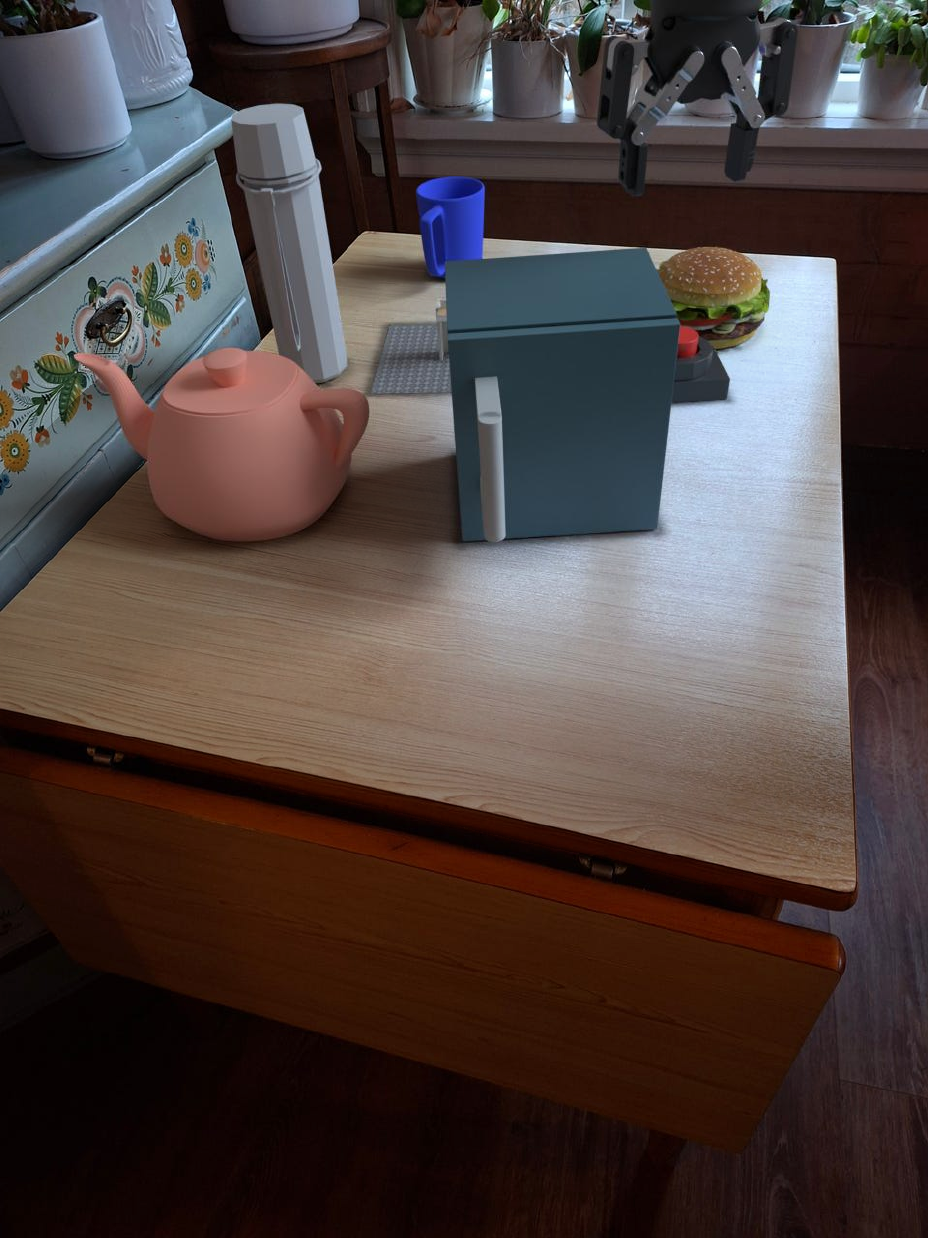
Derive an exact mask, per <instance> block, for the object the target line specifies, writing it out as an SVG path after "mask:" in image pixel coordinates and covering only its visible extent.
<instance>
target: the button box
mask: <svg viewBox="0 0 928 1238" xmlns="http://www.w3.org/2000/svg"><path fill="white" fill-rule="evenodd" d="M730 382H731V378H730V376H729V374H728V372H727V370H726V369H725V366H724V364H723V362H722V360H721V358H720V356H719V354H718V352H717V350H716V349H715V348H714V346H713V345H712V346H711V344H710V342H709V341H707V340H705V339H703V338H701V337H700V336H698V344H697V351H696V354H695V355H693V356H691V357H688V358H677V359H676V368H675V376H674V385H673V394H672V403H671V404H676V403H690V402H692V403H693V402H704V401H719V400H721V401H722V400H727V399H728V394H729V388H730Z"/></svg>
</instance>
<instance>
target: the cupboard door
mask: <svg viewBox="0 0 928 1238" xmlns="http://www.w3.org/2000/svg"><path fill="white" fill-rule="evenodd" d="M679 332H680V323H679V321H678V318H673V319H658V320H643V321H629V322H614V323H599V324H585V325H570V326H555V327H541V328H526V329H511V330H496V331H482V332H467V333H452V334H448V350H449V364H450V378H451V391H452V392H451V403H452V404H451V405H452V415H453V416H452V418H453V432H454V444H455V457H456V458H455V459H456V471H457V485H458V497H459V511H460V525H461V526H460V527H461V539H462V542H474V541H487V542H490V543H498V542H501V541H503V540H505V539H507V540H508V539H521V538H535V537H536V538H537V537H551V536H568V535H583V534H584V535H585V534H598V533H600V534H601V533H613V532H630V531H647V530H657V529H658V526H659V525H658V524H659V516H660V510H661V509H660V507H661V499H662V491H663V483H664V482H663V481H664V473H665V464H666V463H665V462H666V456H667V455H666V454H667V448H668V447H667V446H668V438H669V430H670V429H669V428H670V420H671V411H672V404H673V403H672V394H673V385H674V376H675V368H676V359H677V350H678V341H679Z"/></svg>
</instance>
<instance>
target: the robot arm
mask: <svg viewBox="0 0 928 1238" xmlns="http://www.w3.org/2000/svg"><path fill="white" fill-rule="evenodd" d="M763 2H764V0H650V23H649V27H648V30H647V32H646V34H645V37H644V38H641V39H640V38H639V39H638V38H637V39H623V38H622V37H619V36H617V35H611V36H609V37H608V38H607V39H606V41H605V42H604V47H603V57H602V65H601V66H602V67H601V78H600V87H599V97H598V107H597V115H596V117H597V118H596V126H597V127H598V129H600V130H601V131H602V132H604V133H605V134H606V135H608V136H609V137H610V138H612V139H614V140H619V141H620V147H619V148H620V149H619V160H618V161H619V164H618V177H617V178H618V181H619V184H620V185H621V186H622V187H623V188H624V191H625V192H626V193H627V194H628V195H629V196H631V197H632V198H636V197H642V196H644V194H645V186H646V185H645V184H646V175H647V163H648V151H649V144H648V143H646V140H647V139H648V138H649V136H650V135H651V133H652V132H653V130H654V129H655V127H656V125H657V124H658V122H660V121H661V120H662V119H664V118H665V117H667V115H668V114H669V113H670V111H671V110H672V109H673V107H674V105H675V104H676V103H678V104H681V105H685V104H692V103H695V102H696V101H699V100H701V99H704V100H709V101H714V100H720V99H722V97H723V98H724V100H725V101H726V103H727V105H728V106H729V108H730V111H731V112H732V114H733V116H734V118H735V119H736V120H735V122H731V123H730V127H729V134H728V142H727V148H726V154H725V163H724V170H723V171H724V175H725V177H726V178H728V179H730V180H731V181H733V182H734V183H735V182H742V181H745V180H746V177H747V173H750V172H751V170H752V167H753V165H754V162H755V156H756V148H757V142H758V137H759V132H760V128H761V126H762V125H763V124H764V122H765V121H767V120H769V119H771V118H773V117H775V116H776V117H781V116H783V115H785V114H786V112H787V111H788V108H789V103H790V96H791V88H792V80H793V72H794V66H795V58H796V51H797V44H798V43H797V42H798V34H799V26H798V25H797V24H796V23H795V22H792V21H790V20H788V19H786V18H784V17H779V16H772V17H770V18H769V19H768V20H767V21H766V22H765V23H760V24H759V20H758V19H759V17H758V15H759V10H760V8H761V6H762V5H763ZM757 49H758V52H759V54H760V55H761V64H760V72H759V81H758V91H756V88H755V86H754V84H753V83H752V81H751V78H750V76H749V75H748V73H747V71H746V68H745V67H746V65H747V63H748V62H749V60H750V59H751V57H752V56H753V55H754V53H755V52H756V50H757ZM643 60H644V61H645V63H646V65H647V67H648V68H649V70H650V71H649V73H648V74H647V76H646V77H645V79H644V80H643V82H642V83H641V85H640V87H638V90H637V91H636V93H635V94H634V102H633V103H632V104H631V107H630V108H629V100H630V92H631V84H632V77H633V76H634V75H635V74H637V72H638V70H639V67H640V63H641V62H642V61H643ZM756 95H757V96H756ZM628 108H629V110H628Z"/></svg>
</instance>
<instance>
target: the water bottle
mask: <svg viewBox="0 0 928 1238" xmlns="http://www.w3.org/2000/svg"><path fill="white" fill-rule="evenodd" d="M230 122H231V130H232V138H233V145H234V153H235V161H236V169H237V170H236V171H237V172H236V175H235V179H236V183H237V185H238V186H239V187H240V188H241V189H242V190H243V192H244V196H245V202H246V206H247V212H248V216H249V220H250V221H249V222H250V225H251V230H252V234H253V239H254V240H253V241H254V243H255V249H256V253H257V259H258V262H259V267H260V272H261V278H262V282H263V286H264V291H265V295H266V301H267V305H268V310H269V314H270V319H271V324H272V329H273V334H274V338H275V344H276V347H277V352H278V355H280V356H283V357H286V358H288V359H290V360H292V361H293V362H295V363H296V364H297V365H298V366H299V367H300V368H301V369H302V370H303V371H304V372H305V373H306V374H307V375H308V376H309V377H310V378H311V379H312V380H313V381H314V383H315V384H321V383H323V384H324V383H325V382H328V381H331V380H333V379H335V378H338V377H339V376H340V375H341V374H342V373H343V372H344V371H345V370H346V369H347V367H348V354H347V348H346V341H345V336H344V335H345V334H344V329H343V323H342V317H341V315H342V314H341V310H340V303H339V297H338V290H337V285H336V278H335V272H334V265H333V258H332V253H331V252H332V251H331V247H330V239H329V234H328V233H329V232H328V228H327V221H326V214H325V210H324V209H325V208H324V202H323V196H322V189H321V183H320V182H321V181H320V173H321V172H322V164H321V161H320V160H319V159H317V158H316V156H315V155H316V154H315V152H314V147H313V143H312V139H311V135H310V130H309V127H308V122H307V119H306V115H305V112H304V108H303V107H301V106H299V105H296V104H292V103H270V104H269V103H268V104H260V105H255V106H251V107H247V108H243V109H241V110H239V111H237V112H234V113H233V114H232V115H231V119H230ZM241 180H243V183H242V181H241Z"/></svg>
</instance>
